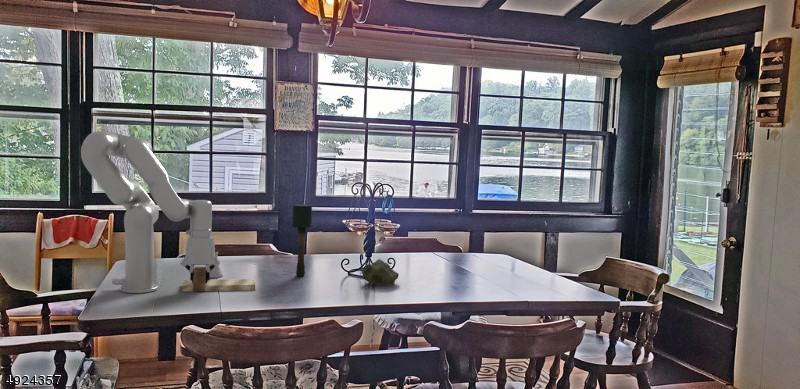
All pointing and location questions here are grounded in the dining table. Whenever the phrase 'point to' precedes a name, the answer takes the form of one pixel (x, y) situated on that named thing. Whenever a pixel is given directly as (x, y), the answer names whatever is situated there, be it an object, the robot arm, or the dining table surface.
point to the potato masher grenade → (301, 231)
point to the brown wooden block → (199, 279)
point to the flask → (216, 270)
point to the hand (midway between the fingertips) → (199, 281)
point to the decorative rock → (379, 273)
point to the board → (223, 285)
